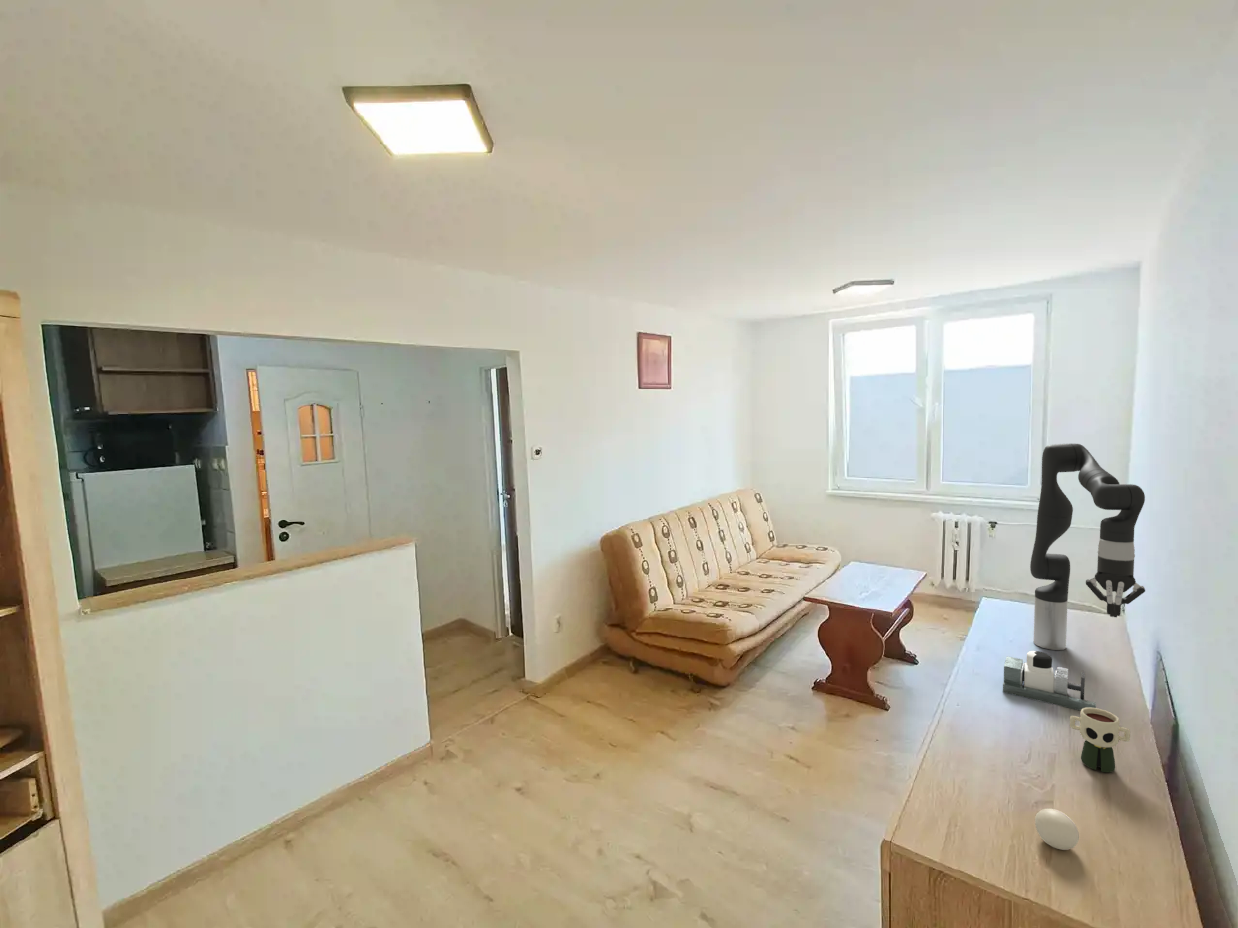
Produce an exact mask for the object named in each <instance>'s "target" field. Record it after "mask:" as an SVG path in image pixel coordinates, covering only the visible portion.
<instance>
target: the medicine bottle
mask: <svg viewBox="0 0 1238 928" xmlns="http://www.w3.org/2000/svg"><path fill="white" fill-rule="evenodd" d="M1023 663H1024V681H1023V686H1025V687H1030V688H1034V689H1038V690H1043V691H1047V692H1051V693H1054V678H1055V670H1054V668H1053V666H1052V664H1053V657H1052V656H1051V655H1050V654H1048V653H1046V652H1044V651H1040V650H1030V651H1028V652H1027V653H1026V662H1023Z"/></svg>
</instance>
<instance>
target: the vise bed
mask: <svg viewBox="0 0 1238 928" xmlns="http://www.w3.org/2000/svg"><path fill="white" fill-rule="evenodd" d="M1024 663H1025V662H1024V660H1023V659H1021V658H1017V657H1012V656H1006V658H1005V662H1004V665H1003V683H1002V693H1005V694H1009V695H1013V696H1018V697H1023V698H1026V699H1031V700H1034V701H1037V702H1038V701H1039V702H1043V703H1047V704H1052V705H1056V706H1060V707H1063V708H1068V709H1072V710H1077V711H1080V712H1081V710H1082V709H1083V708H1097V702H1094V701H1090V700H1085V699H1084V700H1082V699H1080V698H1078V697H1073V696H1068V695H1067V696H1064V695H1060V694H1056V693H1051V692H1047V691H1043V690H1038V689H1034V688H1030V687H1025V686H1024Z"/></svg>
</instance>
